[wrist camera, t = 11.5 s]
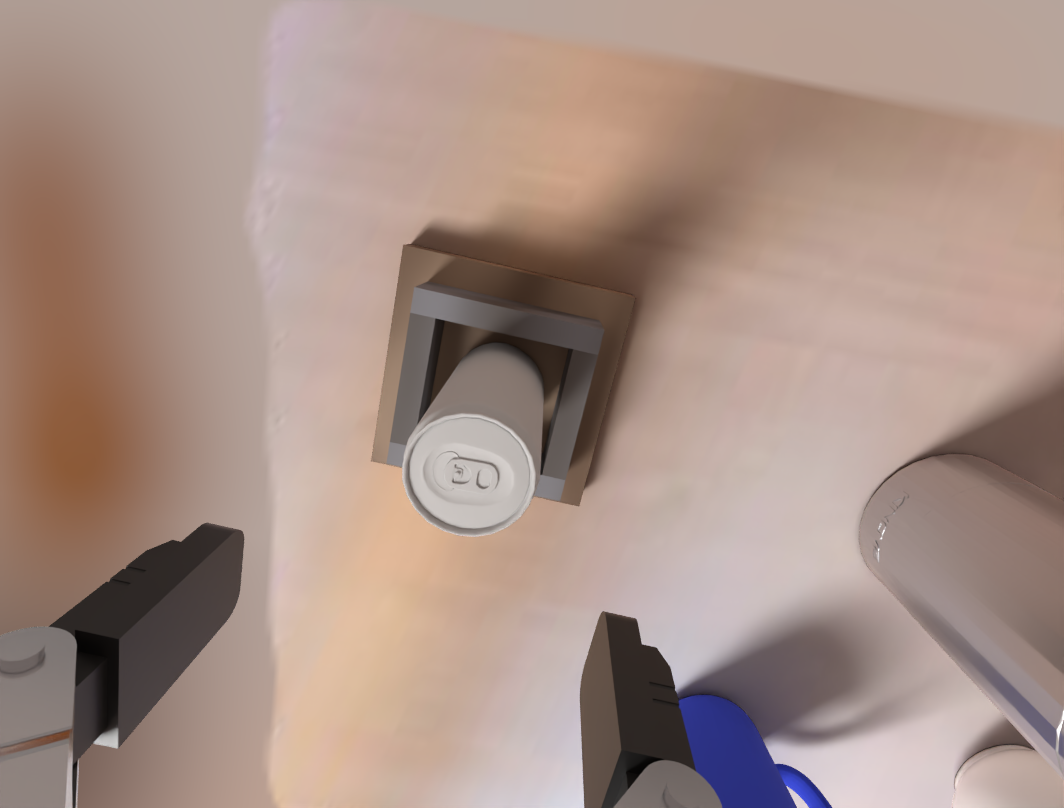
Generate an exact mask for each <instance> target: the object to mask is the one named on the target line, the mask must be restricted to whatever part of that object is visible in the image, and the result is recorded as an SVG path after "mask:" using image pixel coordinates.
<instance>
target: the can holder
mask: <svg viewBox="0 0 1064 808" xmlns="http://www.w3.org/2000/svg"><path fill="white" fill-rule="evenodd" d="M635 299H636V298H635V297H634V296H633V295H630V294H626V293H622V292H617V291H613V290H609V289H604V288H600V287H595V286H591V285H587V284H582V283H578V282H574V281H569V280H565V279H561V278H556V277H552V276H547V275H543V274H539V273H534V272H530V271H526V270H521V269H517V268H513V267H508V266H504V265H499V264H495V263H491V262H486V261H482V260H478V259H473V258H469V257H464V256H460V255H456V254H451V253H447V252H443V251H438V250H434V249H430V248H425V247H421V246H416V245H412V244H407V245H403V251H402V257H401V264H400V271H399V277H398V284H397V291H396V297H395V304H394V311H393V318H392V324H391V331H390V338H389V344H388V351H387V358H386V365H385V371H384V378H383V385H382V391H381V398H380V405H379V411H378V418H377V425H376V432H375V438H374V445H373V452H372V458H371V461H373V462H377V463H382V464H386V465H391V466H396V467H400V468H402V464H403V460H404V452H405V449H406V446H407V442H408V439H409V437H410V436H411V434H412V432H413V431H414V429H415V428H416V426H417V425H418V423H419V422H420V420H421V419H422V417H423V416H424V414H425V413H426V411H427V410H428V408H429V407H430V405H431V404H432V402H433V401H434V400H435V398H436V397H437V395H438V394H439V392H440V391H441V389H442V388H443V386H444V385H445V383H446V382H447V380H448V379H449V377H450V376H451V375H452V373H453V372H454V370H455V369H456V367H457V366H458V364H459V363H460V361H461V360H462V358H463V357H464V356H466V355H467V354H468V353H469V352H470V351H471V350H473V349H475V348H477V347H479V346H481V345H484V344H489V343H494V342H495V343H507V344H509V345H511V346H514V347H516V348H518V349H520V350H521V351H523V352H524V353H525V354H527V355H528V356H529V357H530V358H531V359H532V360H533V362H534V363H535V364H536V365H537V367H538V369H539V371H540V372H541V374H542V378H543V383H544V403H543V426H542V448H541V468H540V481H539V484H538V487H537V489H536V492H535V495H534V497H538V498H543V499H548V500H552V501H557V502H561V503H566V504H571V505H575V506H579V505H580V501H581V497H582V494H583V490H584V486H585V483H586V479H587V475H588V472H589V468H590V464H591V461H592V457H593V453H594V450H595V446H596V442H597V439H598V435H599V431H600V428H601V424H602V420H603V417H604V413H605V409H606V406H607V402H608V398H609V395H610V391H611V387H612V384H613V380H614V376H615V373H616V369H617V365H618V361H619V358H620V354H621V350H622V347H623V343H624V339H625V336H626V332H627V328H628V325H629V321H630V317H631V314H632V310H633V306H634V303H635Z"/></svg>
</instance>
